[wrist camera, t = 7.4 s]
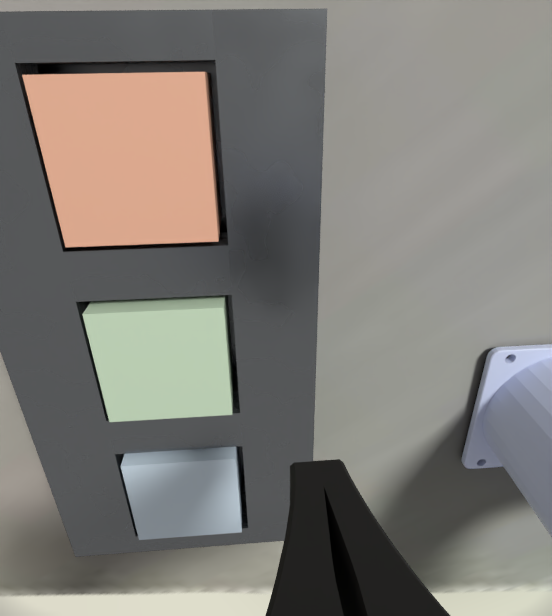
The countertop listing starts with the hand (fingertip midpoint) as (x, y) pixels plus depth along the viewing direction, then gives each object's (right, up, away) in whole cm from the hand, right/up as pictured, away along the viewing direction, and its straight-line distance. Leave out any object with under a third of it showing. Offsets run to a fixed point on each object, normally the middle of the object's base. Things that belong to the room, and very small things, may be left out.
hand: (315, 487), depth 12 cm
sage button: (-6, +4, +8) cm, 10 cm away
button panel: (-6, +4, +8) cm, 11 cm away
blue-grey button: (-6, -3, +11) cm, 13 cm away
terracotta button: (-6, +11, +4) cm, 13 cm away
